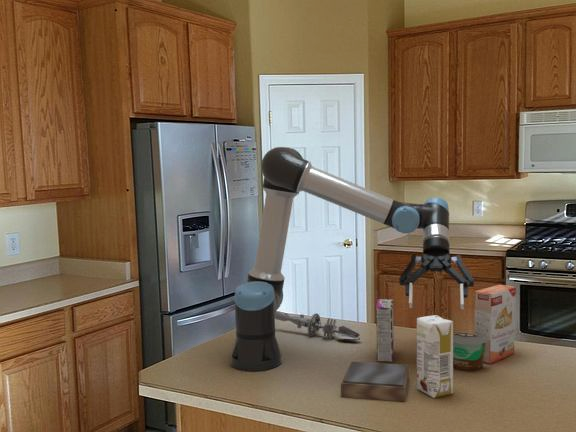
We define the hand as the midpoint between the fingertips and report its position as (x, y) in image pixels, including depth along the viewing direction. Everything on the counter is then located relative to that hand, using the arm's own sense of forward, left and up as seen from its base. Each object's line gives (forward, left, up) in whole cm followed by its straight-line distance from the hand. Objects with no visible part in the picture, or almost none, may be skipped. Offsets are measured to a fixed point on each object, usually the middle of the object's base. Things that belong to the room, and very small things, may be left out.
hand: (436, 306), depth 165 cm
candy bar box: (-15, +15, -20) cm, 29 cm away
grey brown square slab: (-15, -11, -20) cm, 27 cm away
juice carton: (0, -11, -20) cm, 23 cm away
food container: (+8, +8, -20) cm, 23 cm away
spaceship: (-41, +32, -20) cm, 56 cm away
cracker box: (+17, +20, -20) cm, 33 cm away
